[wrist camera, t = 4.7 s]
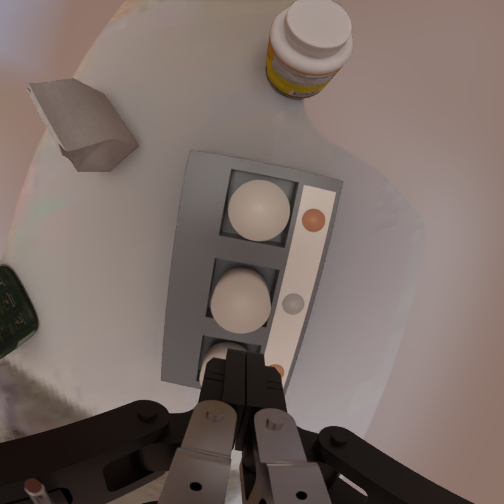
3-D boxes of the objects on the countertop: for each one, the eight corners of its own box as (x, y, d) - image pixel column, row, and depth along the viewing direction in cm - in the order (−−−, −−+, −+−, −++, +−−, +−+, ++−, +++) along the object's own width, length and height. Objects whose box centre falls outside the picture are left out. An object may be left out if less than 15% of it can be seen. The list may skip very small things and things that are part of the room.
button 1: (207, 337, 26) (202, 355, 24) (256, 346, 27) (257, 365, 24) (201, 376, 27) (196, 395, 25) (247, 383, 28) (247, 403, 25)
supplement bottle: (292, 35, 23) (313, -26, 13) (339, 74, 24) (382, 28, 14) (251, 72, 24) (252, 18, 14) (299, 113, 25) (327, 77, 15)
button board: (196, 152, 25) (188, 149, 22) (333, 180, 26) (344, 181, 23) (167, 363, 30) (160, 382, 27) (280, 383, 31) (283, 402, 27)
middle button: (219, 262, 25) (215, 273, 22) (273, 272, 25) (276, 284, 22) (211, 311, 26) (206, 327, 23) (262, 320, 26) (264, 337, 23)
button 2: (236, 175, 24) (234, 174, 21) (290, 185, 25) (295, 187, 22) (226, 228, 25) (223, 234, 22) (279, 238, 26) (282, 246, 23)
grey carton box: (104, 93, 24) (45, 64, 14) (139, 145, 25) (85, 132, 15) (76, 119, 24) (11, 103, 14) (109, 171, 26) (46, 172, 16)
